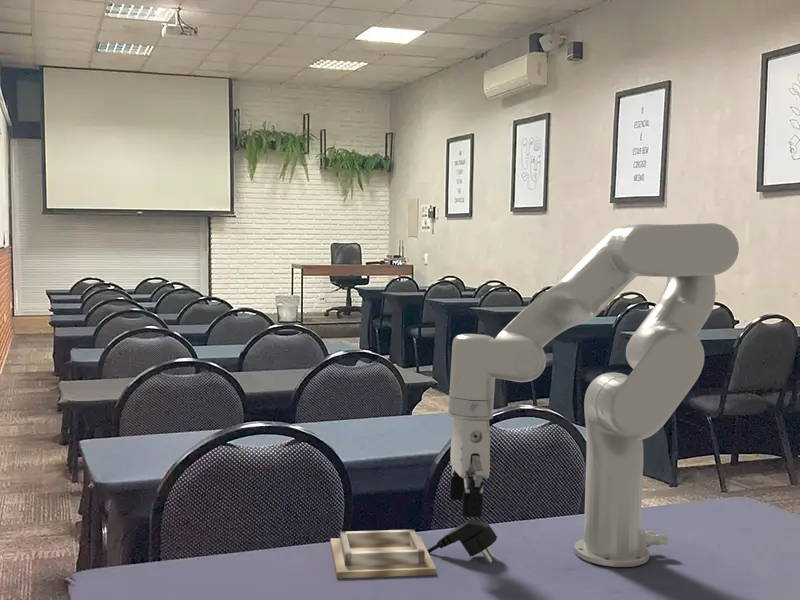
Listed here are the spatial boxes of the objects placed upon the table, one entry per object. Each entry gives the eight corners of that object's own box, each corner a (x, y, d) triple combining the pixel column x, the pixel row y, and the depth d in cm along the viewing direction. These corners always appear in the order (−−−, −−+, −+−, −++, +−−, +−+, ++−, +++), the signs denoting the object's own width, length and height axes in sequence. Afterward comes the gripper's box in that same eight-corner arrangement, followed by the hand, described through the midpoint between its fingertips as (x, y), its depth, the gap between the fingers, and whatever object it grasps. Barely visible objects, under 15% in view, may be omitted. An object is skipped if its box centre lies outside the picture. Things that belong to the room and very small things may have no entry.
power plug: (427, 542, 149) (483, 509, 146) (451, 580, 148) (508, 546, 146) (420, 553, 144) (478, 518, 141) (445, 592, 143) (504, 558, 140)
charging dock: (419, 541, 152) (420, 524, 152) (436, 574, 136) (436, 556, 136) (330, 544, 150) (330, 527, 150) (336, 578, 134) (337, 559, 134)
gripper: (506, 418, 135) (499, 524, 136) (480, 399, 152) (474, 493, 153) (460, 417, 134) (453, 523, 135) (439, 398, 151) (433, 492, 152)
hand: (464, 507), depth 144 cm, fingers open, 9 cm apart
